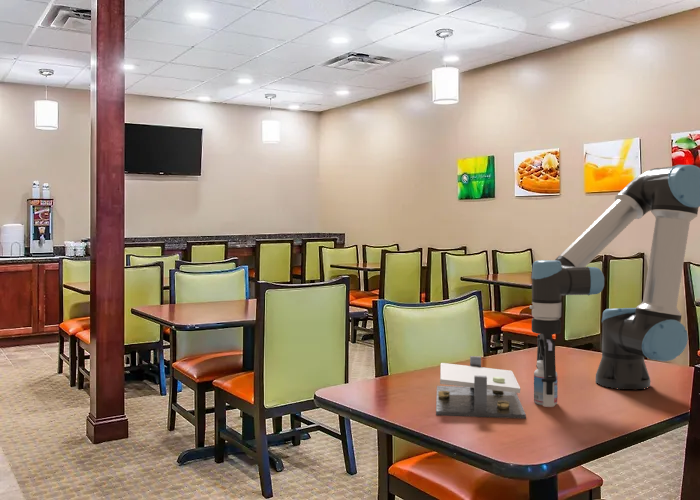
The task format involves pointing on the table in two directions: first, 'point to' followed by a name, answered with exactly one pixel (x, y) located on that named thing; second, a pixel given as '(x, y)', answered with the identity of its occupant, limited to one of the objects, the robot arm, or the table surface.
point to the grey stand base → (478, 399)
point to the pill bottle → (539, 384)
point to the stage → (465, 375)
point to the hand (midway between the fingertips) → (545, 401)
